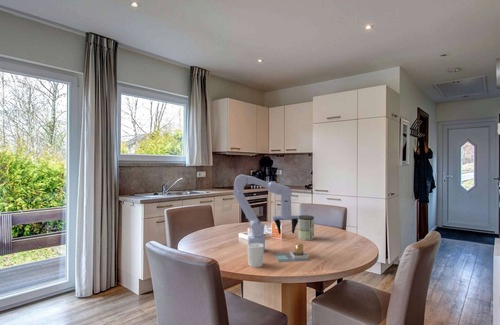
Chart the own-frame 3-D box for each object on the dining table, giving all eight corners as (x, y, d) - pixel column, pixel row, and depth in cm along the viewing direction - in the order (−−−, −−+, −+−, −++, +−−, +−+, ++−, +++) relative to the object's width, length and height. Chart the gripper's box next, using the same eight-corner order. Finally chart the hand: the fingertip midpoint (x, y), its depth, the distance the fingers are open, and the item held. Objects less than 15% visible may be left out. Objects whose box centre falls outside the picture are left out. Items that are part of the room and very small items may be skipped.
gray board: (279, 264, 139) (279, 259, 139) (273, 255, 153) (273, 250, 153) (311, 262, 142) (311, 257, 142) (302, 253, 156) (302, 249, 156)
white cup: (263, 263, 141) (262, 242, 141) (264, 269, 133) (264, 247, 133) (247, 263, 141) (246, 243, 141) (247, 269, 133) (247, 247, 133)
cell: (296, 258, 146) (296, 245, 146) (294, 255, 150) (294, 242, 150) (304, 257, 146) (304, 244, 146) (301, 255, 150) (301, 242, 150)
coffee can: (297, 236, 192) (297, 215, 193) (313, 236, 191) (312, 215, 192) (298, 240, 182) (298, 218, 182) (315, 240, 181) (314, 218, 181)
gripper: (274, 209, 154) (275, 235, 154) (300, 209, 155) (301, 234, 155) (271, 207, 161) (272, 232, 160) (297, 207, 162) (297, 231, 162)
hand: (286, 233), depth 158 cm, fingers open, 7 cm apart
